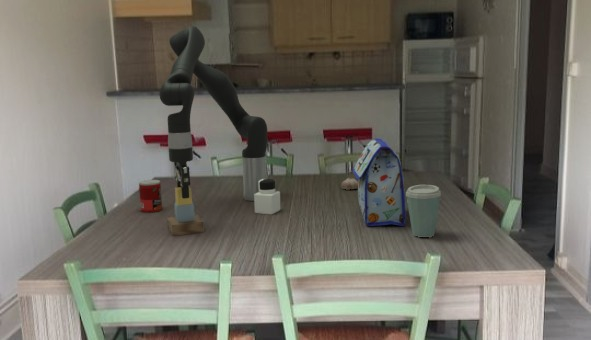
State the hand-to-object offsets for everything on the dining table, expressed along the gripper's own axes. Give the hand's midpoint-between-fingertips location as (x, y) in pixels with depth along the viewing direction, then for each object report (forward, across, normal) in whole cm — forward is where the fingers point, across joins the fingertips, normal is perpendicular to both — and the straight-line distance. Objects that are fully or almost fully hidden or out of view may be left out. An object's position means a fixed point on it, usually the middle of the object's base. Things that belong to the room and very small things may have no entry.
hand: (183, 195), depth 184 cm
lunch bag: (+12, -15, -64) cm, 67 cm away
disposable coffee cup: (+12, -38, -66) cm, 77 cm away
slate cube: (+8, 0, 0) cm, 8 cm away
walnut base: (+12, 0, 0) cm, 12 cm away
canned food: (+12, +33, +7) cm, 36 cm away
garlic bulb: (+12, +32, -76) cm, 83 cm away
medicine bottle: (+12, +11, -32) cm, 36 cm away
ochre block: (+3, 0, 0) cm, 3 cm away
